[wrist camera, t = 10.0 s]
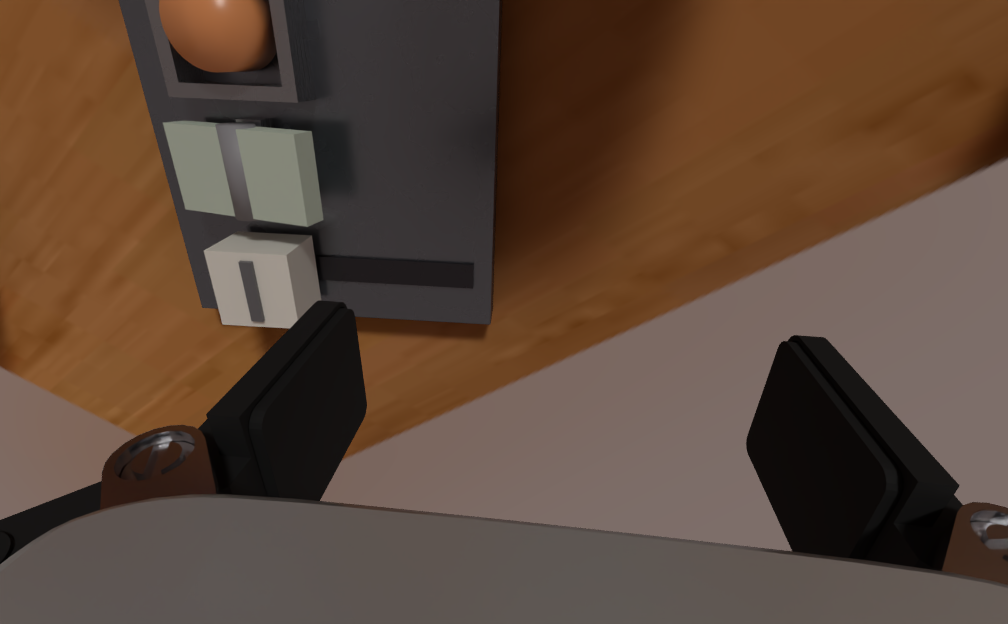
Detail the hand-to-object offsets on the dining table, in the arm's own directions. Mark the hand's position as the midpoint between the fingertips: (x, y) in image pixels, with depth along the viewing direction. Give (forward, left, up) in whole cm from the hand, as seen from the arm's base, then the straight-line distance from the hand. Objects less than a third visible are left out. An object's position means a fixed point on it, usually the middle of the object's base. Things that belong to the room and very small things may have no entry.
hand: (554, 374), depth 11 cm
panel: (+11, -4, -18) cm, 21 cm away
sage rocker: (+14, -1, -13) cm, 19 cm away
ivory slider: (+14, +4, -16) cm, 21 cm away
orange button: (+14, -7, -15) cm, 22 cm away
